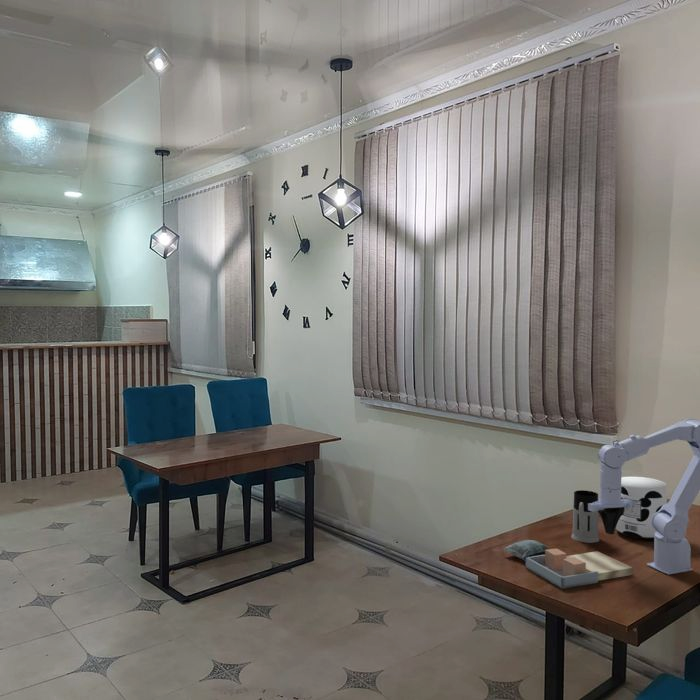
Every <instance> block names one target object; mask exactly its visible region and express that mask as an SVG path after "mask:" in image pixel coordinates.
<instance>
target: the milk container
mask: <svg viewBox="0 0 700 700" xmlns="http://www.w3.org/2000/svg"><path fill="white" fill-rule="evenodd" d="M667 487H668V486H667V483H666V482H664V481H662V480H659V479H656V478H652V477H644V476H622V477H621V499H629V500H632V507H621V508H620V509H621V510H623V514H622V516H621V517H620V519H619V521H618V523H617V526H616V529H615V531H617V532H618V533H620V534H622V535H624V536H626V537H630V538H635V539H637V540H638V539H640V540H654V538H655V529H654V527H653V526H652V522H651V520H652V517H653V515H654V514H655V513H657V512H658V511H659V510H660V509H661V507H662V506H663V505H664V504H666V503H668V501H667V500H668V496H667V494H668V488H667Z"/></svg>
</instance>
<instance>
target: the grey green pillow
mask: <svg viewBox="0 0 700 700" xmlns="http://www.w3.org/2000/svg"><path fill="white" fill-rule="evenodd" d="M548 549H550V548H549V546H547V545H545V544H543V543H541V542H540V541H536V540H534V539H533V540H532V539H525V540H520V541H516V542H515V543H512V544H509V545H507V546H506V547H504V546H503V547H502V550H504V551H506V552H508V553H509V554H510V555H512V556H515V557H516V558H519V559H521V560H522V561H524V562H526V557H532V556H539V555H545V550H548Z"/></svg>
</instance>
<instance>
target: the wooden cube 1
mask: <svg viewBox="0 0 700 700" xmlns="http://www.w3.org/2000/svg"><path fill="white" fill-rule="evenodd" d="M566 556H567V553H566V552H564V551H563V550H560V549H559V548H549V549H548V550H545V565H546V566H547V567H549V568H551V569H552V570H554V571H556V570H563V559H566Z"/></svg>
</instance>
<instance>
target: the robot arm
mask: <svg viewBox="0 0 700 700" xmlns="http://www.w3.org/2000/svg"><path fill="white" fill-rule="evenodd" d="M676 440H679V441H684V442H687V443H688V444H689V446H690V448H691V450H692V452H693V453H692V454H693V456H692V459H690V462H689V464H688V466H687V467H686V469H685V471H684V473H683V475H682V476H681V479H680V480H679V483H678V485H676V488H675V490H674V491H673V494H672V496H671V497H670V499H669V501H667V503H666V504H664V505H663V506H662V507H661V509H660V510H659V511H658V512H657V513H655V514H654V515H653V517H652V520H651V522H652V526H653V527H654V529H655V538H654V539H653V541H654V542H653V543H654V548H653V562H648V563H646V565H647V567H650V568H653V569H655V570H656V571H660V572H661V573H664V574H667V575H674V574H680V573H685V572H686V573H687V572H690V571H693V567H691V555H692V553H691V552H692V551H691V550H692V549H691V545H690V542H689V541H688V539H686V538H685V537H686V535H687V527H688V524H689V523H690V518H689V511H690V509H691V507H692V505H693V503H694V502H695V499H696V498H697V496H698V494H699V492H700V421H699V420H697V419H694V418H687V419H685V420H680V421H678V422H676V423H674V424H672V425H669V426H667V427H664V428H663V429H660V430H658V431H656V432H653V433H651V434H647V435H646V436H644V437H643V436H642V435H635V434H631V435H629V438H627V439H624V440H621V441H614V442H613V445H612V444H605V445H603V446H601V448H600V449H599V451H598V453H597V458H598V460H599V462H600V477H599V480H600V481H599V498H598V501H596V502H593V503H589V504H588V510H589V511H592V512H595V511H597V510H598V515H599V516H600V517H601V520H602V524H603V527H604V531H605V533H606V534H608V535H615V531H616V526H617V523H618V521H619V519H620V517H621V516H622V514H623V510H621V509H620V508H621V507H632V500H629V499H621V477H623V475H622V467H623V466H624V464H625V462H628V461H631V460H634V459H636V458H639V457H642V456H644V455H647V454H648V453H649V451H650V448H654V447H657V446H661V445H664V444H667V443H669V442H672V441H676Z"/></svg>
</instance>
